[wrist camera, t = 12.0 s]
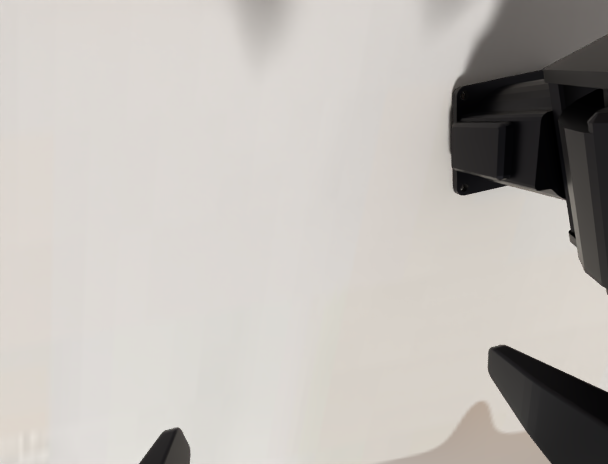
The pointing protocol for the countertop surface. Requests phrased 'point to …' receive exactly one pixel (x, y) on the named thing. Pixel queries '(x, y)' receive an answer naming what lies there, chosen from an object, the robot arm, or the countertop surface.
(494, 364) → the robot arm
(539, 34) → the countertop surface
